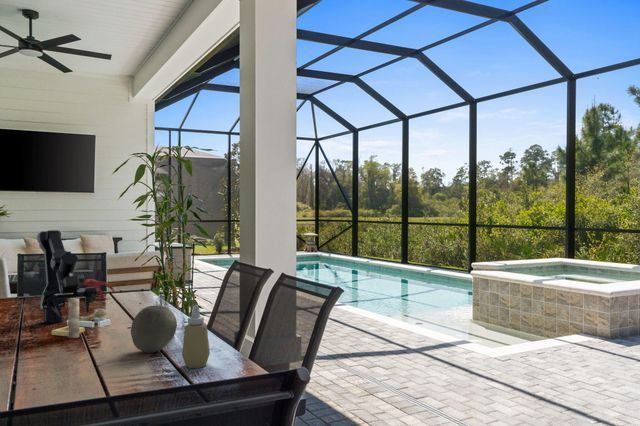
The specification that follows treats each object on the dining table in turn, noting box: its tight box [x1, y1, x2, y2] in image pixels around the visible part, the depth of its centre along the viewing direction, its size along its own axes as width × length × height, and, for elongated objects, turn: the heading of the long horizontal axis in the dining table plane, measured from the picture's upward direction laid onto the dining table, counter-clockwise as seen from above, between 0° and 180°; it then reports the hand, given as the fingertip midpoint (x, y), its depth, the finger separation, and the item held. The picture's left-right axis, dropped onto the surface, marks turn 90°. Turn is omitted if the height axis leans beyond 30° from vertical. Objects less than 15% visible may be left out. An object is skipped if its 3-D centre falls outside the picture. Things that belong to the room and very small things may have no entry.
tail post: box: [68, 298, 80, 339], centre depth 189 cm, size 4×4×14 cm
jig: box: [51, 317, 111, 337], centre depth 204 cm, size 16×23×2 cm
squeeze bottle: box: [181, 304, 211, 369], centre depth 152 cm, size 8×8×18 cm
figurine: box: [67, 308, 107, 326], centre depth 212 cm, size 4×4×15 cm
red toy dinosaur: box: [79, 278, 115, 296], centre depth 282 cm, size 28×9×15 cm
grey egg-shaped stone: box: [130, 305, 178, 354], centre depth 169 cm, size 14×14×15 cm
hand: (74, 314), depth 189 cm, fingers open, 9 cm apart
